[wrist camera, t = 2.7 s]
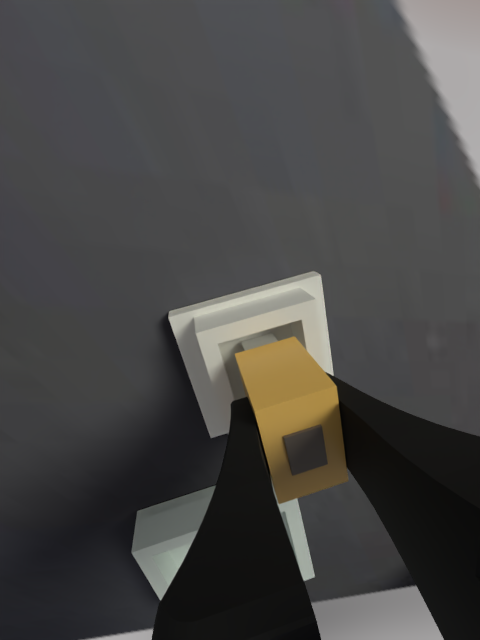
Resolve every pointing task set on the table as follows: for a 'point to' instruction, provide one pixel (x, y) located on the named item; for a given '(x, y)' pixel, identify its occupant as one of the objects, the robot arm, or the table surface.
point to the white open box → (246, 337)
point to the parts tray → (181, 528)
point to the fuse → (293, 416)
